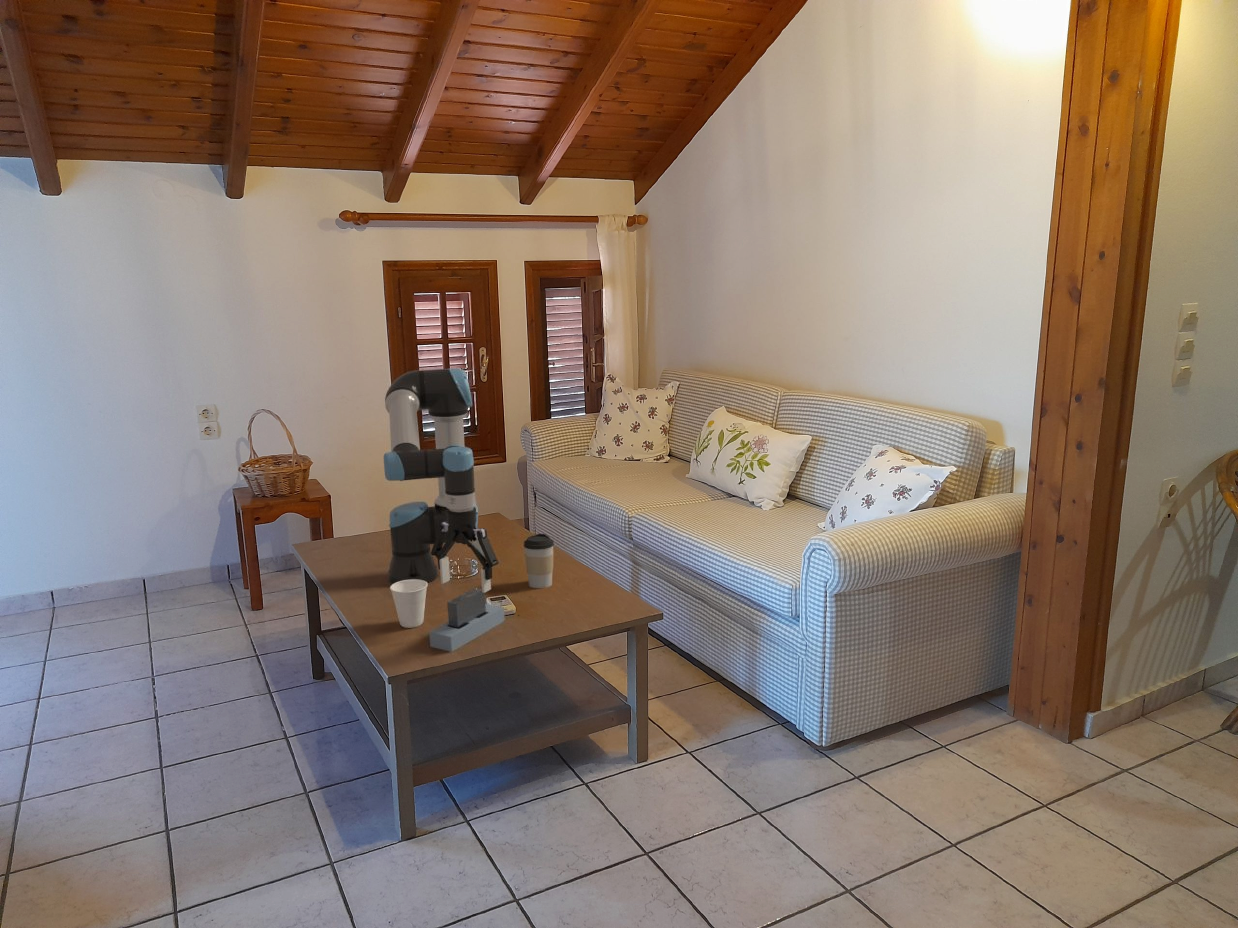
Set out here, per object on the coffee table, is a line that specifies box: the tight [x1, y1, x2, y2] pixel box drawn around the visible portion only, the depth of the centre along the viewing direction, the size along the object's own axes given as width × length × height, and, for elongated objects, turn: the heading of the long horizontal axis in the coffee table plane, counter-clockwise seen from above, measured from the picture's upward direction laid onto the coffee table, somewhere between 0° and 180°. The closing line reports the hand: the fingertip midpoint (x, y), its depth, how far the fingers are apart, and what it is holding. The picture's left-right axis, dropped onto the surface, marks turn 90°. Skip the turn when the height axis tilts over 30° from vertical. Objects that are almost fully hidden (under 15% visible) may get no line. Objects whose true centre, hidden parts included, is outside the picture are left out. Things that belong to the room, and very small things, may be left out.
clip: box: [446, 587, 486, 629], centre depth 232 cm, size 3×12×10 cm, turn 150°
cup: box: [389, 579, 429, 629], centre depth 239 cm, size 10×10×11 cm
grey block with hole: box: [428, 602, 506, 653], centre depth 232 cm, size 7×22×4 cm, turn 150°
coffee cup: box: [523, 533, 555, 589], centre depth 266 cm, size 9×9×15 cm
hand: (465, 586), depth 230 cm, fingers open, 13 cm apart
